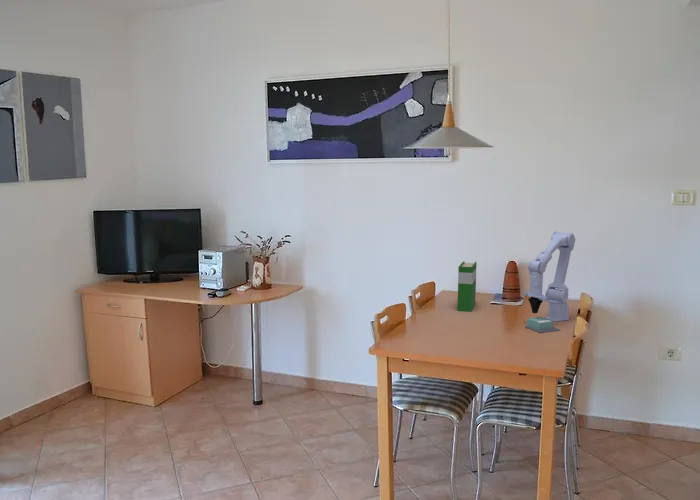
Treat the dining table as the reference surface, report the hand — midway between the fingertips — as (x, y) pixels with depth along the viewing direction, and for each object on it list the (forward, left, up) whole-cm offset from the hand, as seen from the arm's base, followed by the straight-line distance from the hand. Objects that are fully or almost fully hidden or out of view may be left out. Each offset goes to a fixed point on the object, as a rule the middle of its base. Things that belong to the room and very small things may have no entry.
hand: (534, 312), depth 294 cm
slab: (0, -1, -4) cm, 4 cm away
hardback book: (+10, -44, -7) cm, 46 cm away
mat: (0, +6, -6) cm, 9 cm away
